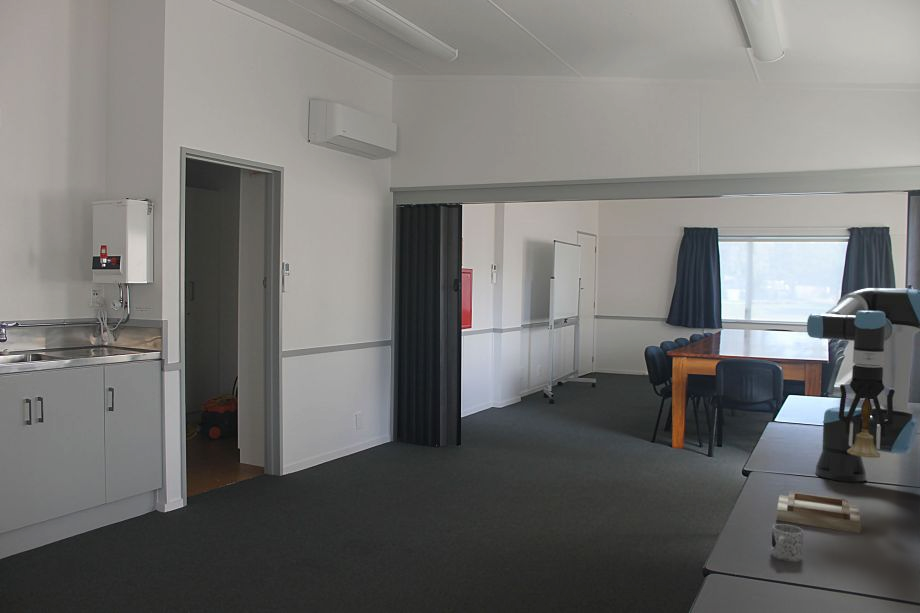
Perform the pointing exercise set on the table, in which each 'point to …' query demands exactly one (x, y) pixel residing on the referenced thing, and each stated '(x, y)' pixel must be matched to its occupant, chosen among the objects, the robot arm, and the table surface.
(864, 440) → the hand bell
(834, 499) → the stand
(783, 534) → the mug
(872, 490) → the table surface
